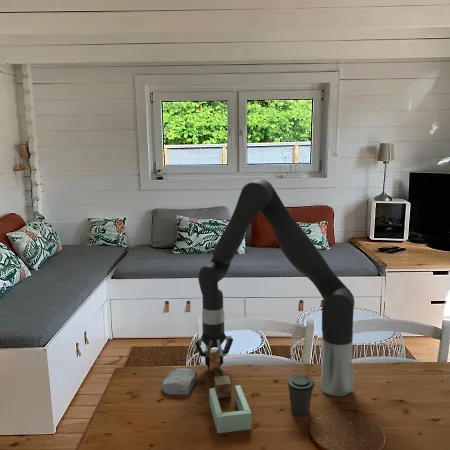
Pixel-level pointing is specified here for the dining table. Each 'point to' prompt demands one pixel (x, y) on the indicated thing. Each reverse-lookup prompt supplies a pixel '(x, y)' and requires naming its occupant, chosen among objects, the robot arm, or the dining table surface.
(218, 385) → the wooden cube dumbbell
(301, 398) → the coffee cup
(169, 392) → the stone block
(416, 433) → the dining table surface
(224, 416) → the channel
